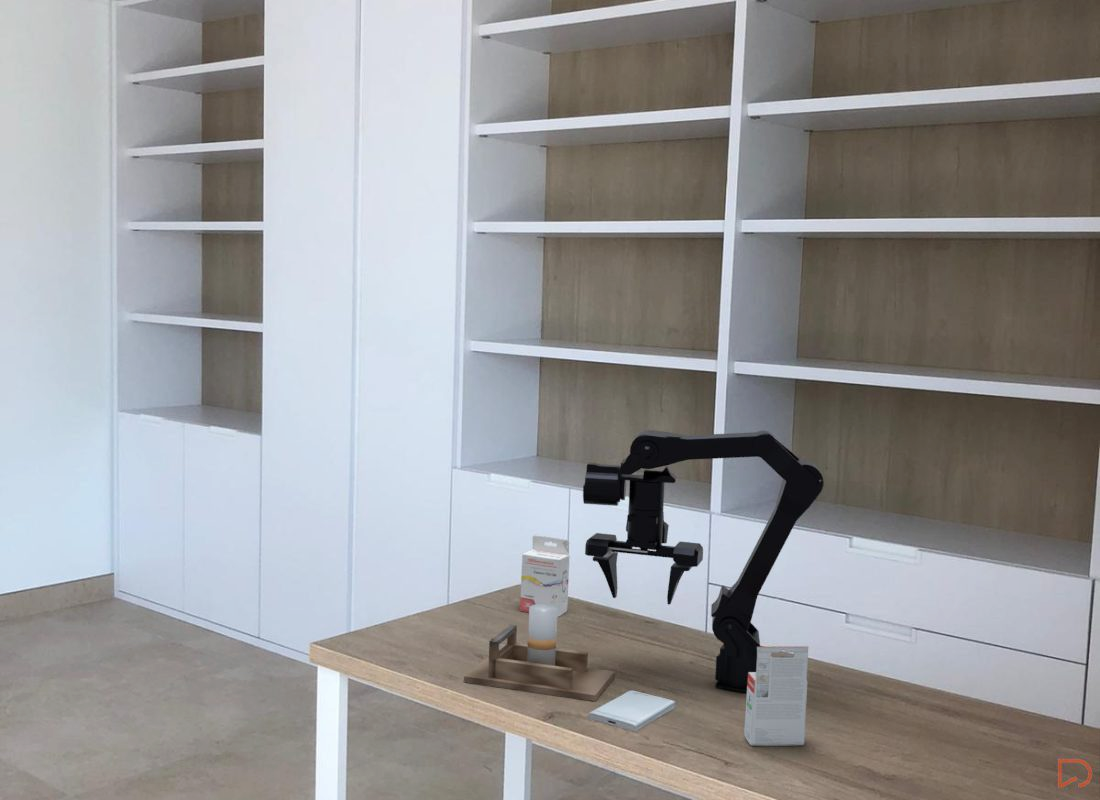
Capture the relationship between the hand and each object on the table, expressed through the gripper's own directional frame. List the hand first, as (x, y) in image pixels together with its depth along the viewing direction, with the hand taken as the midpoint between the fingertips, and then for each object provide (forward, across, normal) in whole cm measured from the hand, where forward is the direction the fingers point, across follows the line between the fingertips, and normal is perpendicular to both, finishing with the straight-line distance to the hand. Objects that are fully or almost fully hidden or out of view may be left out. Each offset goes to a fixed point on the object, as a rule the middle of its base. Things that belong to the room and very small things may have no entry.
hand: (641, 600), depth 188 cm
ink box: (+13, -24, +19) cm, 34 cm away
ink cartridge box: (+13, +26, -30) cm, 42 cm away
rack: (+13, +15, +8) cm, 21 cm away
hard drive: (+14, -3, +16) cm, 21 cm away
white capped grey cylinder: (+12, +15, +8) cm, 20 cm away
